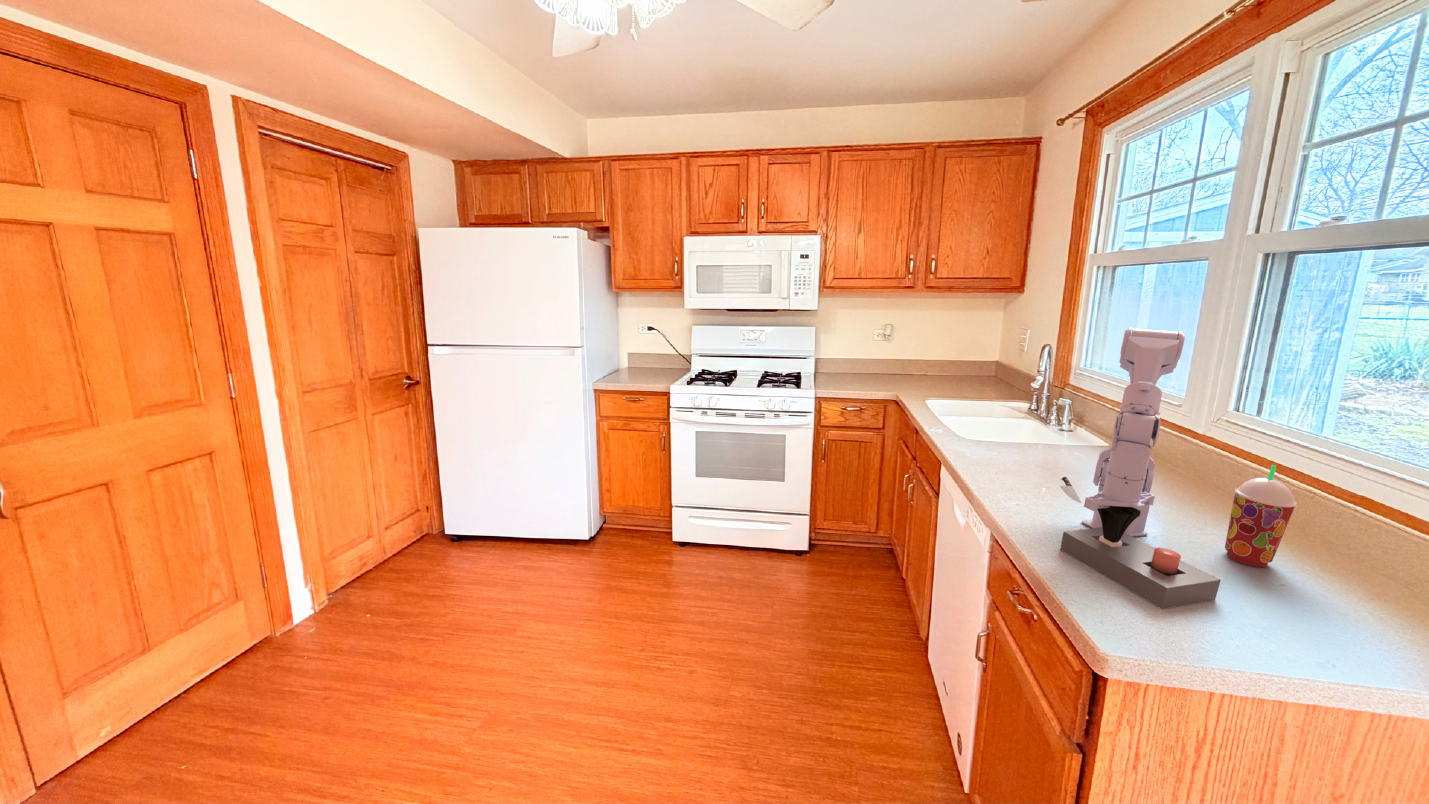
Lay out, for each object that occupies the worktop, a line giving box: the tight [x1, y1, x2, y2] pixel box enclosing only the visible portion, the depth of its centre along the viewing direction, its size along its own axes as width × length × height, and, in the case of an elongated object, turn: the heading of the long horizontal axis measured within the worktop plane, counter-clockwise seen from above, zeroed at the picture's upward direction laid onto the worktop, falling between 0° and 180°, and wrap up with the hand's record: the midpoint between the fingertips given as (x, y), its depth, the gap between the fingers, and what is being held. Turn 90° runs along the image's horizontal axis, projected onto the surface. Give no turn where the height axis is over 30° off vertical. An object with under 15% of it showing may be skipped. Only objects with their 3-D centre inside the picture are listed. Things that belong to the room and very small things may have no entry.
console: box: [1060, 527, 1222, 610], centre depth 99 cm, size 12×20×4 cm, turn 14°
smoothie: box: [1224, 464, 1298, 568], centre depth 103 cm, size 8×8×20 cm
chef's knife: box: [1059, 476, 1082, 504], centre depth 138 cm, size 19×1×3 cm
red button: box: [1151, 547, 1182, 574], centre depth 94 cm, size 4×4×3 cm
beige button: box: [1099, 536, 1122, 547], centre depth 104 cm, size 4×4×3 cm
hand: (1110, 540), depth 103 cm, fingers closed, pressing on beige button
